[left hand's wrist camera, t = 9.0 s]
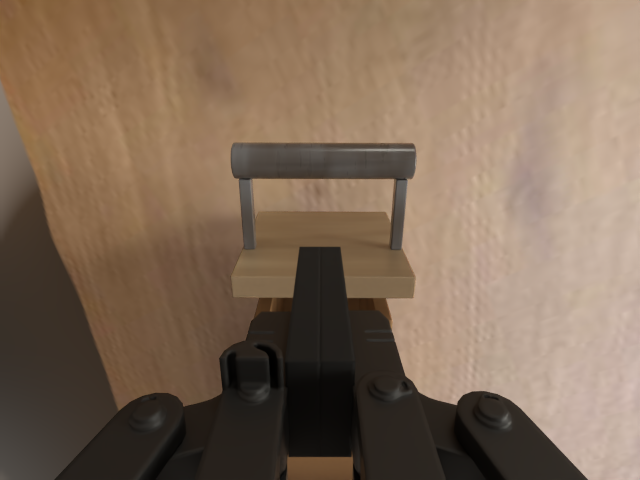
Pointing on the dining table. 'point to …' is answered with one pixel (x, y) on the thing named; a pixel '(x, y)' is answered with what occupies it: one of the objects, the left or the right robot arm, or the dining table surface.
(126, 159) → the dining table surface
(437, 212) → the dining table surface
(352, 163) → the drawer
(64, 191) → the dining table surface
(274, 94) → the dining table surface
